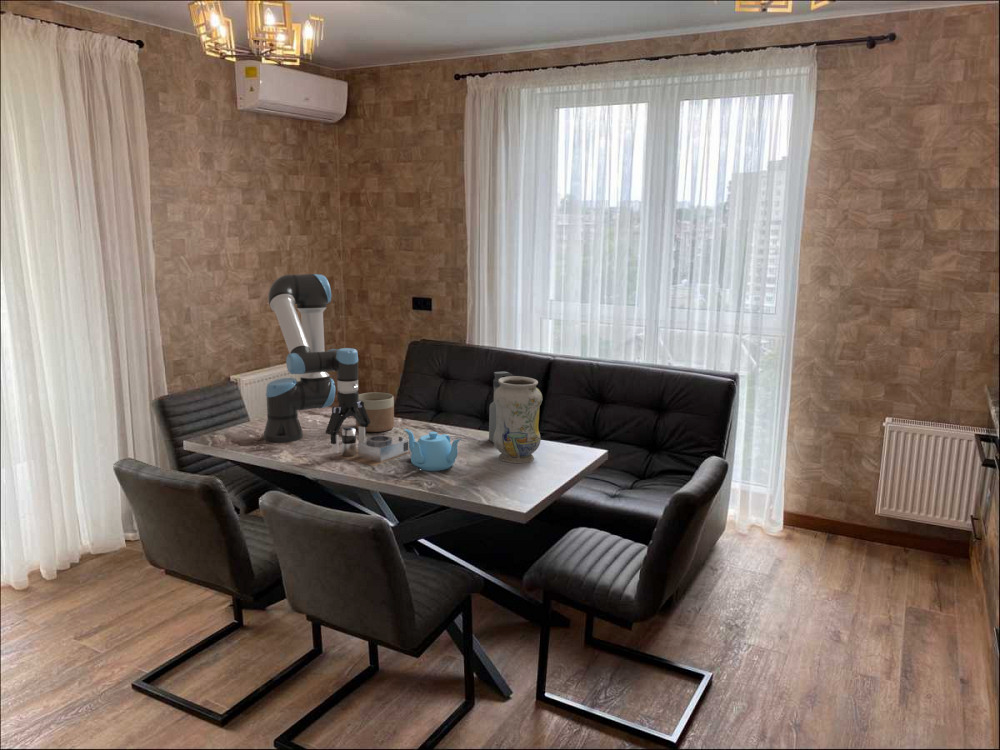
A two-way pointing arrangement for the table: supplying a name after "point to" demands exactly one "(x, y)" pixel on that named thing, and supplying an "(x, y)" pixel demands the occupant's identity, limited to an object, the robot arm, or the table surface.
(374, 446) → the camera body
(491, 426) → the water bottle
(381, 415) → the planter
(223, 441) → the table surface
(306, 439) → the table surface
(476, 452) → the table surface
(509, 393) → the vase
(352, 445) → the lens
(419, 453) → the teapot
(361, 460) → the board
